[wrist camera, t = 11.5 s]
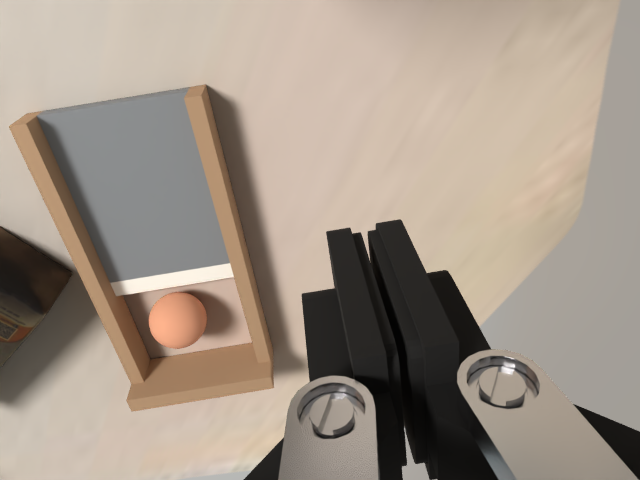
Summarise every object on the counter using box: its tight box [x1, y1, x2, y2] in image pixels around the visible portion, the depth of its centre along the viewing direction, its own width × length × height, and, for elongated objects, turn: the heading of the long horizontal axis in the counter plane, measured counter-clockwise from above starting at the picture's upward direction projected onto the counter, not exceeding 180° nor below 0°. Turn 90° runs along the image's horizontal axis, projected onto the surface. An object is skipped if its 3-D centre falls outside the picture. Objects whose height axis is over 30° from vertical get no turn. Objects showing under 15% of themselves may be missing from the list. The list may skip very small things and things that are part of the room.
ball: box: [149, 292, 207, 349], centre depth 45 cm, size 5×5×5 cm
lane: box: [9, 85, 274, 411], centre depth 42 cm, size 27×13×5 cm, turn 8°
